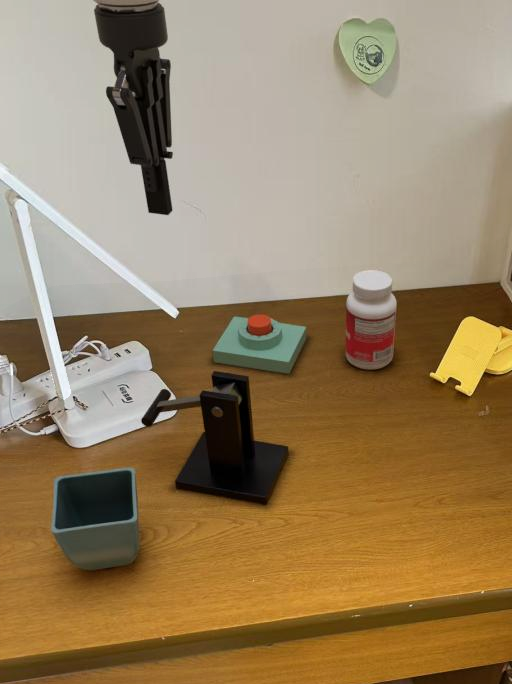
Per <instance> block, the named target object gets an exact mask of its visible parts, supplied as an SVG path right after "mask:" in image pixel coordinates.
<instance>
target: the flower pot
mask: <svg viewBox="0 0 512 684" xmlns="http://www.w3.org/2000/svg"><path fill="white" fill-rule="evenodd" d="M136 475H137V474H136V469H135V468H134V467H122V468H114V469H108V470H100V471H92V472H83V473H76V474H66V475H61V476H57V477H56V478H54V480H53V495H52V497H53V499H52V512H51V513H52V514H51V525H50V531H51V534H52V535H53V537H54V539H55V541H56V542H57V544H58V546H59V548H60V550H61V552H62V553H63V555H64V557H65V558H66V559H67V560H68V561H69V562H70V563H71V564H72V565H74V566H76V567H77V568H80V569H82V570H85V571H96V570H101V569H108V568H115V567H122V566H129V565H131V564H132V563H133V562H134V561H135V560H136V559H137V557H138V555H139V551H140V546H141V544H140V543H141V542H140V523H139V521H140V520H139V500H138V486H137V476H136Z"/></svg>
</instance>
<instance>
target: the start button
mask: <svg viewBox="0 0 512 684" xmlns="http://www.w3.org/2000/svg"><path fill="white" fill-rule="evenodd" d="M248 318H249V319H248V321H247V323H248V332H249V334H251V335H255V336H263V335H267V334H269V333H271V331H272V327H271V319H270V318H271V317H270V316H268V315H266V314H254V315H251V316H249V317H248Z"/></svg>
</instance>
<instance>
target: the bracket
mask: <svg viewBox="0 0 512 684" xmlns="http://www.w3.org/2000/svg"><path fill="white" fill-rule="evenodd" d="M210 377H211V383H212V384H211V385H212V389H213V388H214V386H216V385H222V384H229V383H235V384H236V386H237V388H238V390H239V392H240V394H241V396H242V400H241V402H240V404H238V396H235V395H229V394H223V393H217V392H211V391H209V390H201V391H200V393H199V396H200V402H201V407H200V408H201V409H200V410H201V416H202V422H203V429H204V431H203V432H202V433H201V435H200V437H199V438H198V440H197V442H196V444H195V445H194V447H193V448H192V451H191V453H190V454H189V456H188V457H187V459H186V461H185V463H184V465H183V467H182V468H181V470H180V472H179V474H178V475H177V476H176V478H175V480H174V483H175V488H176V489H178V490H184V491H190V492H194V493H201V494H206V495H211V496H216V497H223V498H228V499H234V500H239V501H244V502H245V501H246V502H250V503H251V502H252V503H255V504H256V503H257V504H262V505H267V504H268V502H269V500H270V498H271V495H272V492H273V490H274V488H275V486H276V484H277V482H278V479H279V476H280V475H281V472H282V469H283V467H284V465H285V462H286V460H287V458H288V456H289V453H290V452H289V446H288V445H283V444H277V443H271V442H265V441H259V440H255V435H254V423H253V411H252V401H251V390H250V389H251V387H250V376H249V375H244V374H238V373H232V372H226V371H225V372H224V371H218V370H213V372H212V374H211V375H210Z"/></svg>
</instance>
